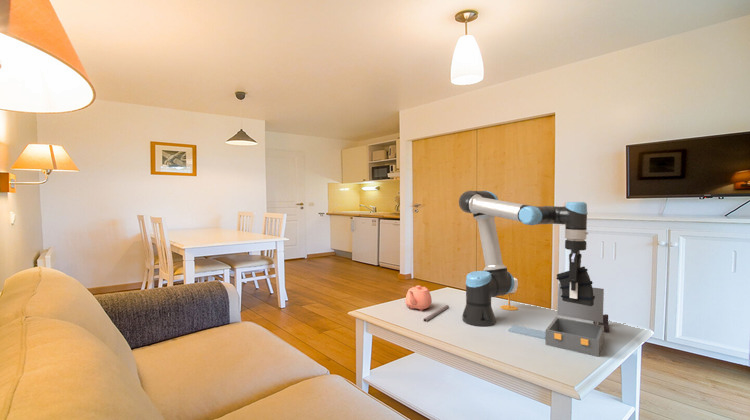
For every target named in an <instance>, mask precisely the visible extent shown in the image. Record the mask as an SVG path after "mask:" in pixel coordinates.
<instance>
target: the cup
mask: <svg viewBox="0 0 750 420" xmlns="http://www.w3.org/2000/svg"><path fill="white" fill-rule="evenodd" d="M513 278H514V288H513V290H512V291H511V292H510V293H508V294H506V295H507V296H508V300H507V302H508V303H507V305H506V304H503V305H501V306H500V309H502V310H504V311H518V310H519V307H517V306H515V305H511V296H512V295H515V293H516V292H517V290H518V286H519V281H518V278H516V277H513Z"/></svg>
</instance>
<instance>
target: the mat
mask: <svg viewBox="0 0 750 420" xmlns="http://www.w3.org/2000/svg"><path fill="white" fill-rule="evenodd" d="M507 331H508V332H510V333H514V334H517V335H518V334H519V335H524V336H529V337H532V338H536V339H542V340H546V330H539V329H534V328H531V327H530V328H529V327H524V326H519V325H517V324H516V325H515V324H513V325H512V326H510V328H508V329H507Z"/></svg>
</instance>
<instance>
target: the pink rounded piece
mask: <svg viewBox="0 0 750 420" xmlns="http://www.w3.org/2000/svg"><path fill="white" fill-rule="evenodd" d="M404 303H405V305H406V307H408V309H409V310H414V309H418V311H419V312H423V311H424V310H425V309H428V308H429V307H431V305H432V295H431V293H430V290H429V288H427V287H426V286H421V285H415V286H412V287H411V288H409V289H408V291H407V292H406V296H405V301H404Z"/></svg>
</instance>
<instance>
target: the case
mask: <svg viewBox="0 0 750 420" xmlns="http://www.w3.org/2000/svg"><path fill="white" fill-rule="evenodd" d="M545 332H546V338H545V345H546V346H549V347H553V348H558V349H563V350H568V351H571V352H576V353H581V354H585V355H590V356H593V357H597V358H598V357H600V355H601V352H602V347H603V346H604V342H605V332H604V326H603V325H598V322H595V324H593V323H590V322H586V321H579V320H573V319H570V318H562V317H554V318H553V320H552V321H551V322H550V323H549V325H548V326H547V327H546V329H545Z"/></svg>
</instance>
